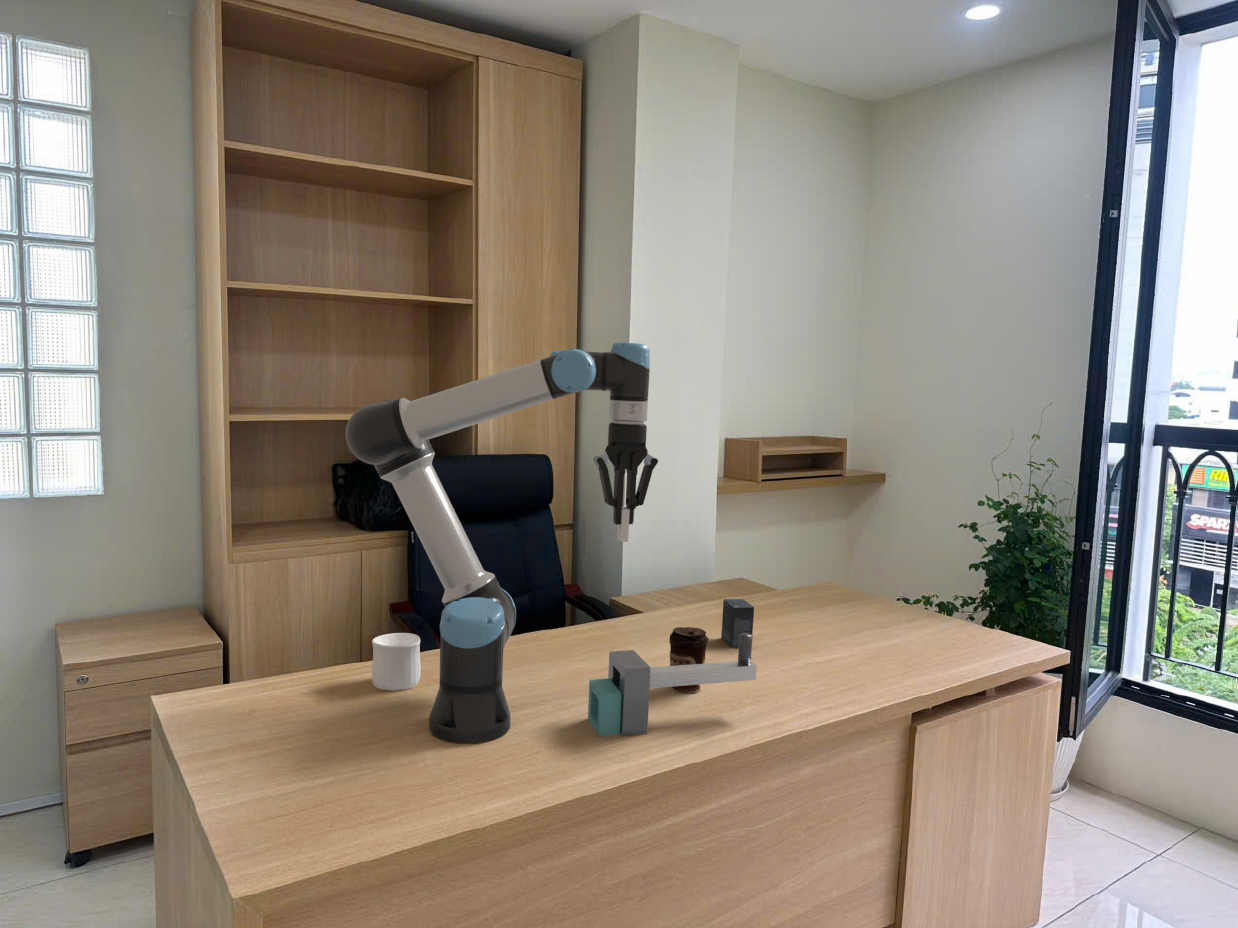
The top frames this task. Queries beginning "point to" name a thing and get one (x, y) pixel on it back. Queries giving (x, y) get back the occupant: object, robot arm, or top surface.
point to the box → (736, 620)
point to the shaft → (708, 670)
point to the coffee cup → (687, 651)
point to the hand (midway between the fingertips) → (622, 540)
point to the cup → (396, 661)
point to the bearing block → (631, 690)
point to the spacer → (604, 707)
